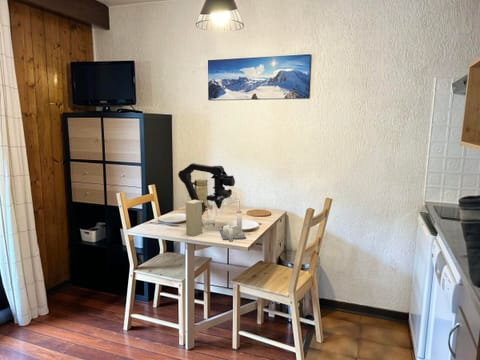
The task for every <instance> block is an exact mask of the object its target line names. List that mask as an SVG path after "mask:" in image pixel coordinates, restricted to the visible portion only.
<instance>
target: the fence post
mask: <svg viewBox="0 0 480 360" xmlns="http://www.w3.org/2000/svg"><path fill="white" fill-rule="evenodd" d="M229 228H232V229H233V234H237V233H238V234H240V233H242V231H243V212H242V210H241V209H237V210H236V225H233V226H232V225H231V226H230V225H229Z"/></svg>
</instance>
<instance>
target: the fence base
mask: <svg viewBox="0 0 480 360" xmlns="http://www.w3.org/2000/svg"><path fill="white" fill-rule="evenodd" d="M229 227H230V225H228V224H227V225H223V227H222V230H223V236H225V237H227V238H228V240H227V241H228V242H230V243H231V242H233V241H234V240H233V229H232V228H229Z"/></svg>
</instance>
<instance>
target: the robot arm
mask: <svg viewBox="0 0 480 360" xmlns="http://www.w3.org/2000/svg"><path fill="white" fill-rule="evenodd" d="M194 171H198V172H203V173H209V174H211V175H212V176H210V179H213V180H214V183H213V187H212V189H214V190H213V191H214V192H213V193H212V194H209V195H207V196H206V201H209V202H214V204H215V205H216V207H217V209H218V210H219V209H221V206H222V204H223V201H224V200H225V199H228V198H231V196H232V195H233V192H232V189H231V188H228V189H226V187H235V184H236V180H235V178H234V175H228V174H227V172H226V171H225V168H224V166H222V165H205V164H198V163H190V164H189V165H187V167H185V168H184V169H182V170H180V171H178V173H177V175H178V178H179V180H180V181H181V182H182V183H183V184H184V185H185V189H186V190H187V193H188V195H189V198H190V199H191V200H199V201H201V200H200V198H199V196H198V194H197V192H196V189H195V187H194V183H193V182H192V173H193V172H194ZM191 200H190V201H191ZM206 207H207V206H205V202H204V201H202V216H203V215H204V213H206V211H207V209H206ZM202 227H203V224H202Z"/></svg>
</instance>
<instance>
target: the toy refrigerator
mask: <svg viewBox="0 0 480 360" xmlns="http://www.w3.org/2000/svg"><path fill="white" fill-rule="evenodd" d="M199 200H200V199H199ZM199 200H188V201H185V226H186V227H185V228H186V229H185V231H186V235H189V236H191V237H195V236H198V235H202V234H203V226H202V225H203V215H202V202H203V201H202V200H200V201H199Z"/></svg>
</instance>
